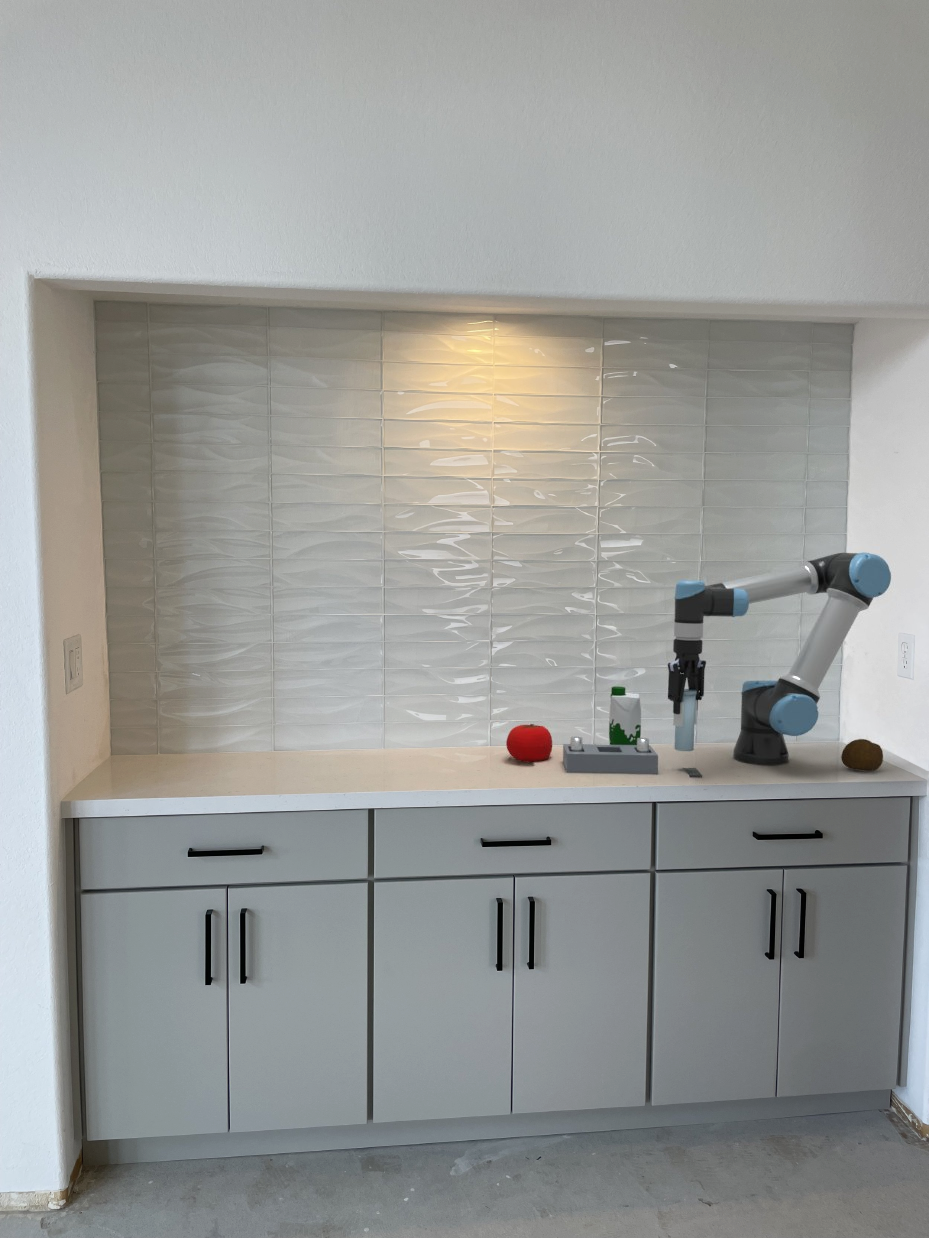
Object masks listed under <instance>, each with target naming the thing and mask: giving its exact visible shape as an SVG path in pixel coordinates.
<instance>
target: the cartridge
mask: <svg viewBox="0 0 929 1238" xmlns="http://www.w3.org/2000/svg"><path fill="white" fill-rule="evenodd" d="M696 693H697V691H696V690H692V689H689V688H684V693H683V698H682V702H684V720H683V727H680V726H675V725H674V726H675V727H674V750H676V751H680V752H692V751H694V750H695V725H696V724H695V699H696Z"/></svg>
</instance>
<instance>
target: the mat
mask: <svg viewBox="0 0 929 1238" xmlns="http://www.w3.org/2000/svg"><path fill="white" fill-rule="evenodd" d="M682 769H683V771H684V772H685V774H687V775H688V776H689V778H699V779H701V778H703V775H702V773H701V772H700V771H699V770H698V769H697V768H696V767H682Z"/></svg>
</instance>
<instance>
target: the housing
mask: <svg viewBox="0 0 929 1238" xmlns="http://www.w3.org/2000/svg"><path fill="white" fill-rule="evenodd" d="M562 745H563V746H562V747H563V748H562V763H563V767H564V768H565V772H566V773H568V774H573V773H574V774H619V775H620V774H622V775H658V773H659V771H658V769H659V755H658V753H657V752H656V751H655V750H654V748H653V747H652V746H651V745H650V744H649V753H637V745H610V744H590V743H587V744H585V743H584V744H583V743H582V752H571V751H570V743H563V744H562Z"/></svg>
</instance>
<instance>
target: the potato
mask: <svg viewBox="0 0 929 1238" xmlns="http://www.w3.org/2000/svg"><path fill="white" fill-rule="evenodd" d="M883 751H884V750H883V749H882V748H881V746H880V744H878V743H875V742H872V741H871V740H868V739H865V738H859V739H854V740H851V741H850V742H848V743H847V744H846V745H845V746H844V748H843V749H842V752H841V755H840V758H841V759H840V760H841V763H842V764H843V765H844V766H845V767H846V768H848V769H852V770H855V771H864V772H871V771H872V772H873V771H876V770H878V769H879V768H880V767H881V766H882V764H883V762H884V752H883Z"/></svg>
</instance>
